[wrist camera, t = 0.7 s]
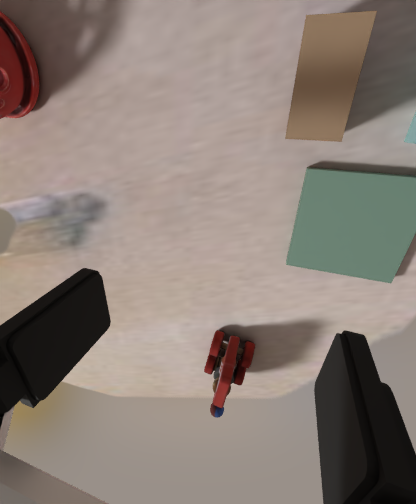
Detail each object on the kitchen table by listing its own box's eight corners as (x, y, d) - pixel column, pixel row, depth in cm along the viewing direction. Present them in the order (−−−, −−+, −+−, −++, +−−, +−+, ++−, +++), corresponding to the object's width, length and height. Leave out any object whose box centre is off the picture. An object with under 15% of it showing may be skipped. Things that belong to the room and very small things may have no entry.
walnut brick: (303, 39, 22) (306, 15, 17) (356, 37, 21) (377, 10, 16) (286, 135, 26) (285, 138, 21) (331, 138, 25) (341, 141, 20)
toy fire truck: (207, 363, 47) (187, 418, 39) (219, 318, 41) (199, 371, 32) (241, 376, 46) (229, 436, 37) (259, 333, 40) (250, 392, 31)
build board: (306, 167, 27) (307, 168, 26) (435, 177, 24) (441, 179, 23) (286, 260, 33) (286, 264, 32) (387, 277, 30) (391, 283, 29)
